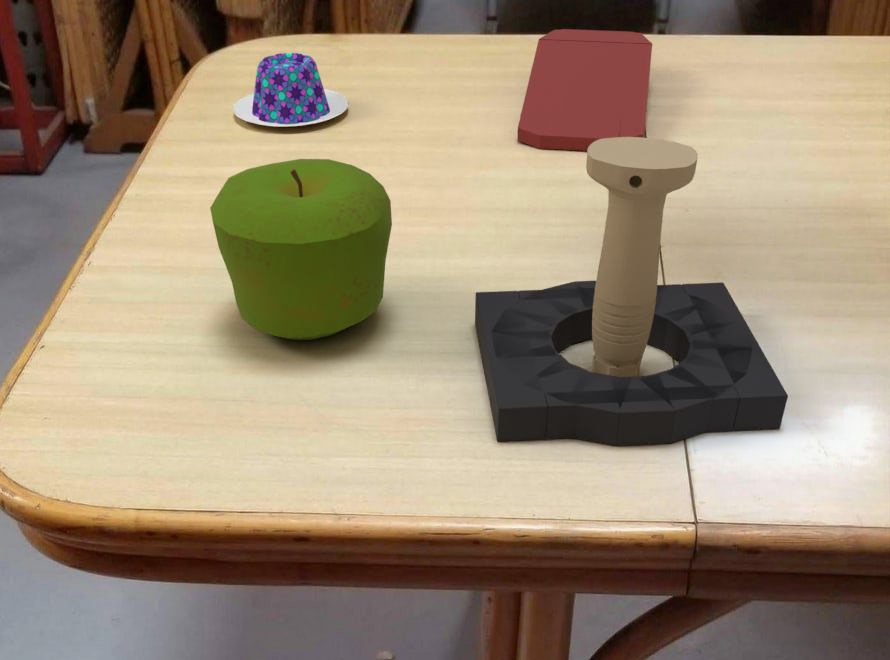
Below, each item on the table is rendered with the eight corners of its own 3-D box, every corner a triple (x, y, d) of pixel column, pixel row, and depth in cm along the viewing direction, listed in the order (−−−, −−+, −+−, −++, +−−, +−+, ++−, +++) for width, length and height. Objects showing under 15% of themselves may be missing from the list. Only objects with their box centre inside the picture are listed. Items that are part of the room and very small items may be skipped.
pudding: (333, 136, 107) (329, 82, 103) (218, 130, 108) (210, 76, 105) (360, 96, 115) (357, 44, 112) (253, 91, 117) (247, 40, 114)
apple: (334, 381, 72) (321, 222, 65) (192, 337, 77) (164, 184, 70) (424, 302, 81) (422, 152, 73) (291, 267, 85) (276, 123, 78)
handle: (575, 348, 75) (594, 133, 65) (667, 359, 74) (700, 142, 64) (563, 384, 72) (581, 162, 62) (659, 396, 70) (694, 173, 61)
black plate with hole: (713, 306, 80) (719, 275, 78) (785, 438, 67) (794, 404, 65) (473, 316, 79) (474, 284, 77) (499, 451, 66) (500, 418, 64)
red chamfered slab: (637, 187, 105) (648, 67, 121) (643, 140, 101) (654, 22, 117) (514, 180, 107) (541, 62, 122) (516, 134, 103) (543, 18, 119)
